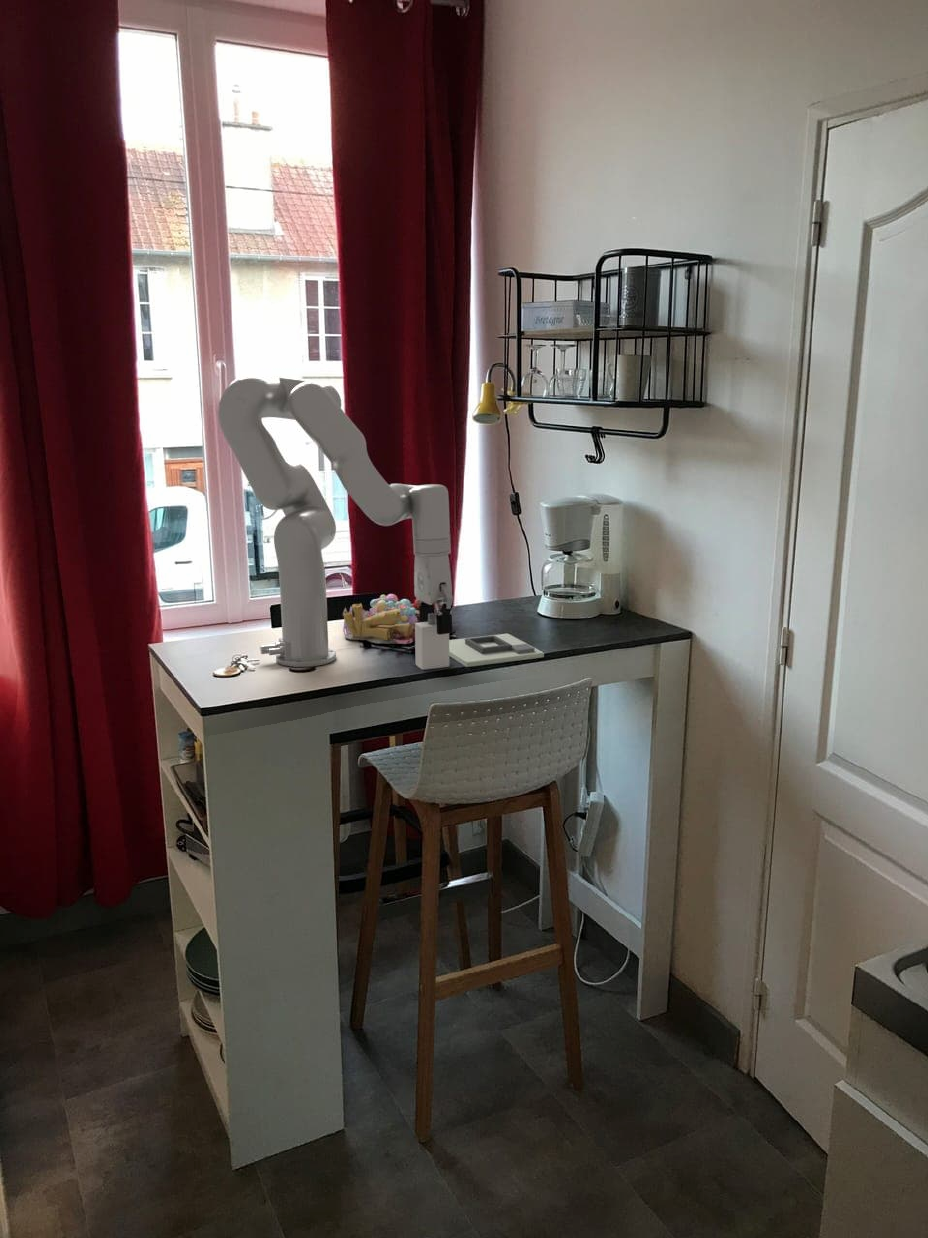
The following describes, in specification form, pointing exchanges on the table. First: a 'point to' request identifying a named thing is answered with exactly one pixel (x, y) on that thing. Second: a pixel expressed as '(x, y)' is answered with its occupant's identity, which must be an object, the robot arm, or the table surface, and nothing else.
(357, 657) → the table surface
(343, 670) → the table surface
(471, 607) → the table surface
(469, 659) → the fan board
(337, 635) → the table surface
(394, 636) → the candy landscape model
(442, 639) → the plug
